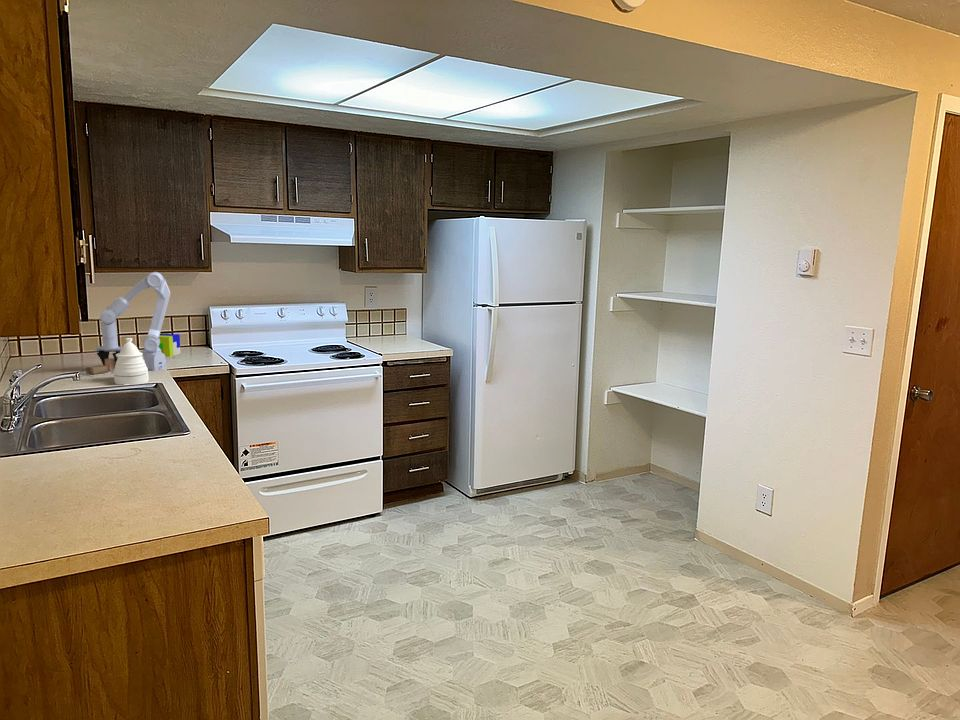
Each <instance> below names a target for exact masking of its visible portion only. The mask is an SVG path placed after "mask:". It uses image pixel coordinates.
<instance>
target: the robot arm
mask: <svg viewBox="0 0 960 720" xmlns="http://www.w3.org/2000/svg"><path fill="white" fill-rule="evenodd" d="M149 288H152V289H153V290H154V291H155V293H156V294H157V296H158V297H157V299H156V304H155V308H154V312H153V316H152V318H151V323H150V327H149V330H148V333H147V336H146V337H145V339H144V340H143V343H142V347H143V348H144V349H142V351H143V352H142V353H143V355H142V356H143V360H144V361H145V364H146V367H147V368H148V371H153V372H155V371H161V370H167V358H166V357H167V356H165V355H164V354H163V353H162V352H161V349H160V348H159V347H158V346H159V344H160V339H159V336H160V334H161V331H162V328H163V324H164V320H165V316H166V312H167V309H168V305H169V301H170V297H171V290H170V288H169V286H168V284H167V280H166V278H165V277H164V276H163V275H162V273H160V272H158V271H153V272H150V273H148V275H147V276H145V277H144V278H142V279H141V280H140V281H137V283H136V284H135V285H134V286H133V287H132V288H131V289H130V290H129V291H128V292H127V293H126V294H125V295H124V296H118V297H117V298H116V297H115V298H114V299H113V302H112V303H111V304H110V305H109V306H106V307H105V309H106V310H103V311H102V312H101V314H100V316H99V319H100V321H101V335H102V336H101V337H102V345H103V346H102V345H97V346H94V348H93V349H94V352H96V355H97V356H98V358H99V359H100V361H101V364H102V365H103V366H105V359H108V358H109V357H110V353H112V356H113V358H114V360H115V365H116V362H117V359H118V357H116V354H117V353H120V351H121V349H122V347H123V346H119V343H118V330H117V329H118V327H117V322H116V320H117V319H118V318H117V317H120V316H122V314H123V313H124V312H125V311H126V310H128V308H130V306H131V305H130V302H131V301H132V300H133V299H134V298H135V297H136V296H138V295H139V294H140V293H141V292H142V291H143V290H147V289H149Z"/></svg>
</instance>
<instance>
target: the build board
mask: <svg viewBox="0 0 960 720" xmlns="http://www.w3.org/2000/svg"><path fill="white" fill-rule="evenodd" d="M79 373H80V374H79V375H83V376H87V377H91V378H93V377H94V378H95V377H98V376H99V377H100V376H105V375H112V374H114V371H108V373H105V374H99V375H90V374H86V371H81V372H79Z"/></svg>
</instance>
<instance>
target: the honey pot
mask: <svg viewBox="0 0 960 720" xmlns="http://www.w3.org/2000/svg"><path fill="white" fill-rule="evenodd" d="M133 339H134V338H133V337H127V338H125V342H126V343H125V344H123V346H121V347H122V349H121V351H120V353H117V354H116V357H118V359H117V362H116V365H115V369H114V373H113V382H114V384H115V383H117V384H116V385H118V384H129V385H130V384H134V385H140V384H146V383H147V382H149V380H150V379H149V370H148V368H147V367H146V364H145V361H144V357H143V356H144V355H143V352H141V351H140V350H139V348H138V347H137V345H135V344H134V343H133ZM129 385H128V386H129ZM130 386H131V385H130Z"/></svg>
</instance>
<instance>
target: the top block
mask: <svg viewBox="0 0 960 720" xmlns="http://www.w3.org/2000/svg"><path fill="white" fill-rule="evenodd" d="M105 366H107V370H108V371H114V369H115V360H114V357H110V358H108V359H105Z"/></svg>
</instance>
